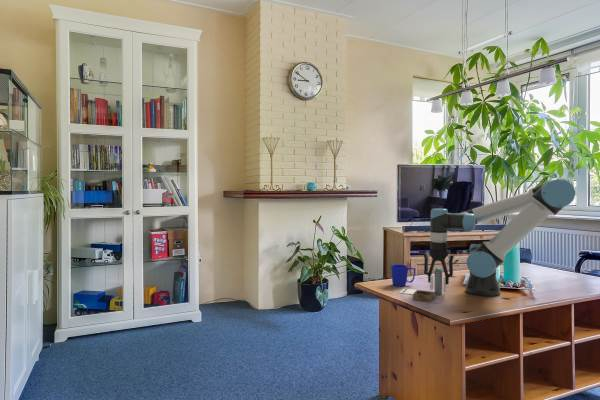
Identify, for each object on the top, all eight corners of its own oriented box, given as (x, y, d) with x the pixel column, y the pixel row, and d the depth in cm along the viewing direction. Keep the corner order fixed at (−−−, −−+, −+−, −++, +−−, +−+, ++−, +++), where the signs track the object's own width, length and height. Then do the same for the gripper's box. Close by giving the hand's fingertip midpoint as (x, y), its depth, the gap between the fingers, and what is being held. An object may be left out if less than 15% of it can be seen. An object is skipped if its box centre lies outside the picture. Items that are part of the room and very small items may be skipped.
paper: (433, 292, 190) (433, 291, 190) (429, 296, 182) (429, 296, 182) (404, 289, 197) (404, 288, 197) (399, 293, 189) (399, 292, 189)
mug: (415, 287, 199) (416, 268, 199) (391, 286, 202) (391, 267, 202) (414, 284, 207) (414, 265, 207) (390, 283, 210) (391, 264, 210)
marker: (442, 293, 188) (442, 268, 188) (441, 295, 185) (441, 269, 185) (435, 292, 190) (435, 267, 189) (433, 294, 187) (433, 269, 186)
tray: (434, 297, 180) (435, 292, 180) (431, 302, 173) (431, 296, 173) (417, 295, 184) (417, 289, 184) (412, 299, 177) (413, 293, 177)
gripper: (460, 241, 186) (460, 290, 186) (420, 239, 195) (420, 286, 195) (458, 243, 179) (457, 294, 180) (417, 240, 188) (416, 289, 189)
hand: (438, 290), depth 187 cm, fingers open, 5 cm apart
